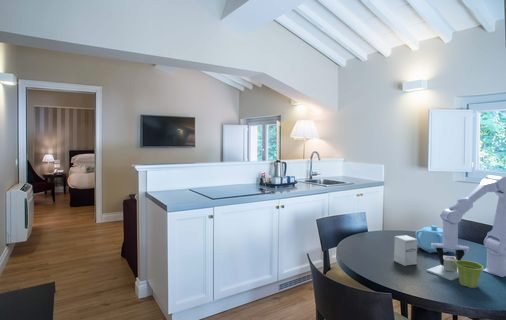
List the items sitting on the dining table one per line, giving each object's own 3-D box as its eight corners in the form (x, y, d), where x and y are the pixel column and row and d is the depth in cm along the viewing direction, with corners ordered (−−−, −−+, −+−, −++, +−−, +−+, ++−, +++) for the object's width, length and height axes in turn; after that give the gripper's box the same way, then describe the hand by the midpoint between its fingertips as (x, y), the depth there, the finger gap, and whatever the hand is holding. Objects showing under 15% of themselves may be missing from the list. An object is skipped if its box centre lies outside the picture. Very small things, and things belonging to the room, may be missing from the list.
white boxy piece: (440, 265, 144) (441, 255, 144) (454, 267, 142) (454, 256, 142) (443, 270, 139) (443, 259, 138) (457, 272, 137) (457, 260, 137)
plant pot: (471, 279, 133) (471, 259, 132) (488, 290, 123) (489, 268, 123) (449, 280, 132) (450, 260, 132) (465, 290, 123) (466, 269, 123)
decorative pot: (426, 243, 180) (427, 220, 179) (456, 251, 166) (457, 226, 165) (410, 249, 171) (411, 224, 170) (441, 257, 158) (441, 231, 157)
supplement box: (404, 266, 147) (405, 240, 147) (393, 260, 154) (394, 235, 154) (417, 264, 149) (417, 239, 148) (405, 259, 156) (406, 234, 156)
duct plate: (448, 263, 150) (449, 253, 150) (473, 271, 141) (474, 261, 140) (426, 271, 141) (427, 261, 141) (451, 280, 132) (452, 269, 131)
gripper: (433, 236, 138) (432, 266, 139) (471, 240, 133) (470, 270, 134) (430, 232, 145) (429, 260, 146) (466, 235, 140) (466, 264, 141)
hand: (449, 265), depth 140 cm, fingers closed on white boxy piece, 5 cm apart
